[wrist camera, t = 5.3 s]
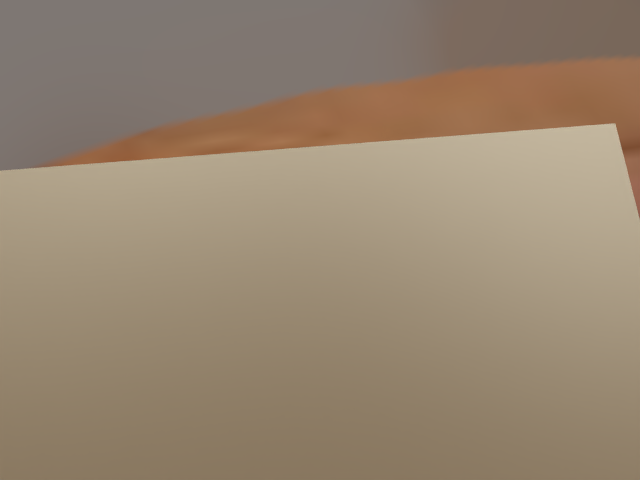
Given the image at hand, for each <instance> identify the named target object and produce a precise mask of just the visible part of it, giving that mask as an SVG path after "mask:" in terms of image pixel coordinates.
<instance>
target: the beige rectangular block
mask: <svg viewBox="0 0 640 480" xmlns="http://www.w3.org/2000/svg"><path fill="white" fill-rule="evenodd" d="M0 480H640V219H639V215H638V211H637V207H636V203H635V199H634V195H633V191H632V188H631V184H630V180H629V176H628V172H627V168H626V164H625V160H624V156H623V152H622V148H621V144H620V141H619V137H618V133H617V129H616V125H615V124H603V125H590V126H577V127H564V128H551V129H538V130H525V131H512V132H499V133H486V134H473V135H460V136H447V137H434V138H421V139H408V140H395V141H382V142H369V143H356V144H343V145H330V146H317V147H304V148H291V149H278V150H265V151H252V152H239V153H226V154H213V155H200V156H187V157H174V158H161V159H148V160H135V161H122V162H109V163H96V164H83V165H70V166H57V167H44V168H31V169H19V170H7V171H0Z"/></svg>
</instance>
